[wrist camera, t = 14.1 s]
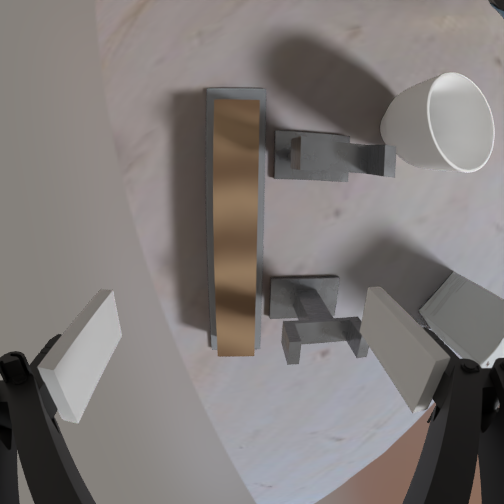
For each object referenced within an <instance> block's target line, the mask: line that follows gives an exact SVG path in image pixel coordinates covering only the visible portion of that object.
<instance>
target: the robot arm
mask: <svg viewBox="0 0 504 504" xmlns="http://www.w3.org/2000/svg"><path fill="white" fill-rule="evenodd" d="M489 2H490V4H491V6H492V7H493V8H494V9H496V10H497V11H498V12H499V13H500V15H501V16H502V17H503V19H504V0H489ZM360 333H361V335H362V336H363V338H364V339H365V341H366V342H367V344H368V345H369V347H370V348H371V350H372V351H373V353H374V354H375V356H376V357H377V359H378V360H379V362H380V363H381V365H382V366H383V368H384V369H385V371H386V372H387V374H388V375H389V377H390V378H391V380H392V382H393V383H394V385H395V386H396V388H397V389H398V391H399V392H400V394H401V396H402V397H403V399H404V400H405V402H406V403H407V405H408V407H409V408H410V410H411V411H412V413H416V412H419V411H423V410H426V409H427V408H428V406H429V404H430V402H431V400H432V399H433V400H434V401H435V403H436V406H435V408H434V410H433V412H432V414H431V416H430V418H429V419H428V421H427V423H429V422H430V421H431V422H430V426H429V429H428V433H427V436H426V440H425V443H424V446H423V450H422V453H421V456H420V459H419V462H418V465H417V468H416V471H415V473H414V476H413V479H412V481H411V484H410V487H409V489H408V492H407V494H406V497H405V499H404V501H403V504H468V503H469V499H470V494H471V490H472V485H473V479H474V474H475V468H476V462H477V455H478V458H479V467H480V479H481V495H482V504H504V358H498V359H496V360H495V362H494V364H493V366H492V368H481V366H480V365H479V364H478V363H477V362H475V361H473V360H471V359H465V358H463V359H459V358H458V357H457V356H456V354H455V353H454V352H453V351H452V350H451V349H450V348H449V347H448V346H447V345H446V344H444V342H443V341H442V340H441V339H440V338H439V337H438V336H437V335H436V334H435V333H434V332H432V331H431V330H429V329H427V328H425V327H424V328H422V327H421V326H420V325H419V324H418V323H417V322H416V321H415V320H414V319H413V318H412V317H411V316H410V315H409V314H408V313H407V312H406V311H405V310H404V309H403V308H402V307H401V306H400V305H399V304H398V303H397V302H396V301H395V300H394V299H393V298H392V297H391V296H390V295H389V294H388V293H387V292H386V291H385V290H384V289H382V288H381V287H368V290H367V296H366V301H365V307H364V312H363V317H362V322H361V327H360ZM121 336H122V333H121V328H120V324H119V319H118V314H117V309H116V303H115V298H114V293H113V290H99V291H98V293H97V294H96V295H95V296H94V297H93V298H92V299H91V301H90V302H89V303H88V304H87V305H86V306H85V308H84V309H83V310H82V311H81V313H80V314H79V315H78V316H77V317H76V318H75V320H74V321H73V322H72V323H71V325H70V326H69V327H68V328H67V330H66V331H65V332H64V333H63V334H62V335H61V334H58V335H56V336H55V337H53V338H52V339H50V340H49V341H48V343H47V344H46V345H45V348H43V349H42V350H41V352H40V353H39V354H38V355H37V356H36V358H35V359H34V360H33V362H32V363H31V364H30V365H29V364H28V362H27V359H26V357H25V356H24V354H23V353H21V352H17V351H15V352H9V353H7V354H4V355H3V356H2V357H0V374H1V376H2V378H3V380H2V381H0V504H20V503H19V492H18V475H17V450H18V454H19V458H20V461H21V465H22V468H23V471H24V475H25V478H26V481H27V484H28V487H29V490H30V492H31V495H32V498H33V501H34V503H35V504H96V503H95V501H94V500H93V498H92V496H91V494H90V492H89V491H88V489H87V487H86V485H85V483H84V481H83V479H82V478H81V476H80V473H79V471H78V469H77V467H76V465H75V463H74V461H73V459H72V457H71V455H70V452H69V450H68V448H67V446H66V443H65V441H64V438H63V436H62V434H61V431H60V429H59V426H58V423H57V421H56V419H55V418H54V415H55V414H56V412H57V410H58V412H59V414H60V416H61V418H62V419H63V420H65V421H69V422H74V423H79V421H80V419H81V417H82V414H83V412H84V410H85V408H86V406H87V404H88V402H89V400H90V398H91V396H92V393H93V391H94V389H95V387H96V385H97V383H98V381H99V379H100V377H101V375H102V373H103V371H104V369H105V367H106V365H107V363H108V361H109V359H110V357H111V356H112V353H113V352H114V350H115V348H116V346H117V344H118V342H119V340H120V338H121ZM499 405H500V407H499V408H498V406H499Z"/></svg>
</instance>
